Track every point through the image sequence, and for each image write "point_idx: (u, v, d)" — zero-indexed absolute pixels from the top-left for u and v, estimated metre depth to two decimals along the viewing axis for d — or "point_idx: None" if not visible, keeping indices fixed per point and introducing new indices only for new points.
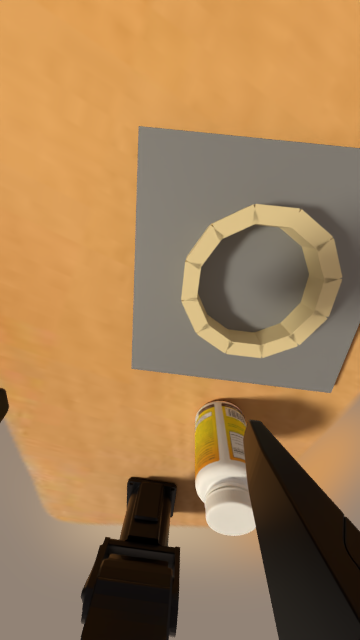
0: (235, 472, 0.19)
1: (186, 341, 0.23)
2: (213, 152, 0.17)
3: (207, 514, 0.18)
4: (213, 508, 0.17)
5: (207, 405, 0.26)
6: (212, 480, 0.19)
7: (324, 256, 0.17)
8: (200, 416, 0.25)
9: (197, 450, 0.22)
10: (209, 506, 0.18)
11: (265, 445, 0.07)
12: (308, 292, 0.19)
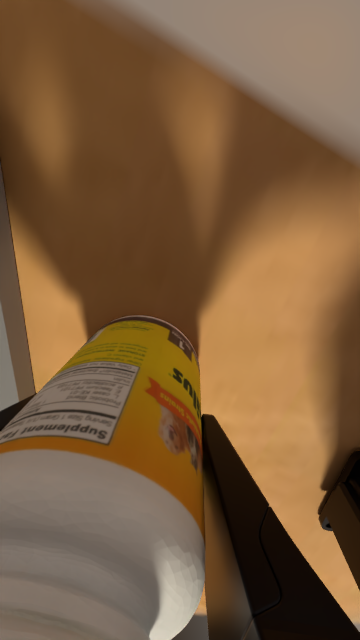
0: None
1: None
2: None
3: None
4: None
5: None
6: None
7: None
8: None
9: None
10: None
11: (210, 438, 0.07)
12: None
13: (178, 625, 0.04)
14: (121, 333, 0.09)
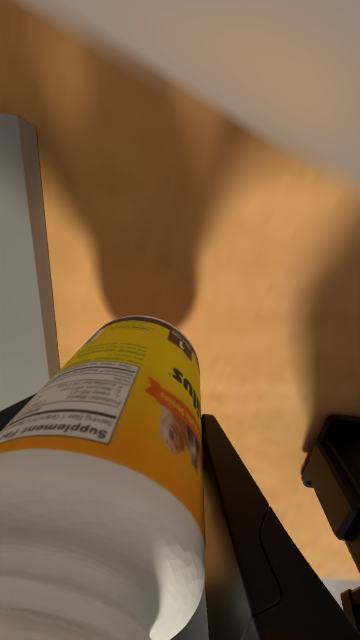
0: None
1: None
2: None
3: None
4: None
5: None
6: None
7: None
8: None
9: None
10: None
11: (210, 438, 0.07)
12: None
13: (178, 624, 0.04)
14: (121, 332, 0.09)
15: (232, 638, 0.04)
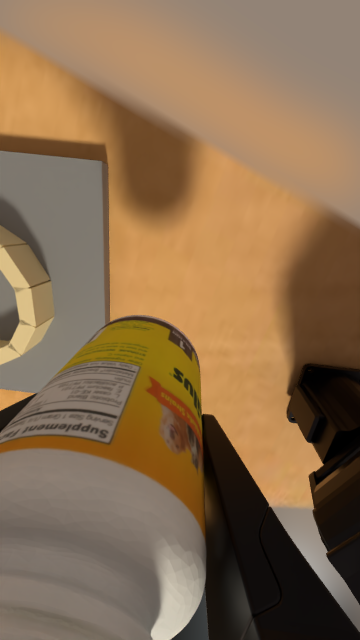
0: None
1: (64, 350, 0.21)
2: None
3: None
4: None
5: None
6: None
7: None
8: None
9: None
10: None
11: (210, 438, 0.07)
12: None
13: (179, 624, 0.04)
14: (122, 332, 0.09)
15: (232, 638, 0.04)
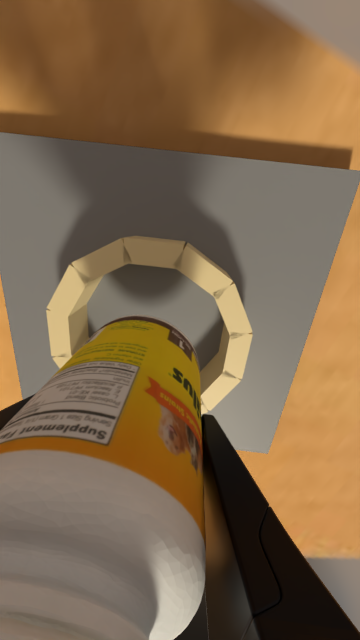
0: None
1: (233, 397, 0.18)
2: (32, 369, 0.18)
3: None
4: None
5: None
6: None
7: (95, 270, 0.12)
8: None
9: None
10: None
11: (210, 438, 0.07)
12: None
13: (178, 627, 0.04)
14: (121, 332, 0.09)
15: (232, 638, 0.04)
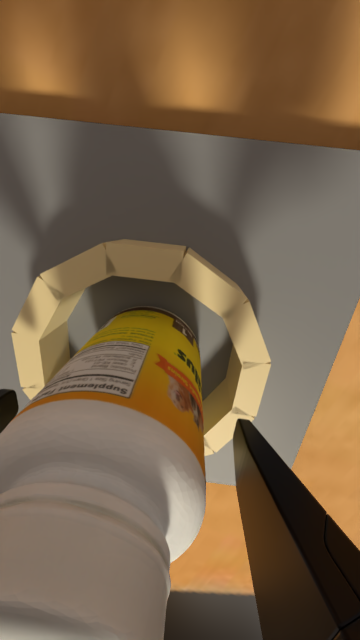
0: None
1: None
2: None
3: None
4: None
5: None
6: None
7: (70, 284, 0.09)
8: None
9: None
10: None
11: (252, 443, 0.07)
12: None
13: (184, 540, 0.05)
14: (131, 320, 0.10)
15: None
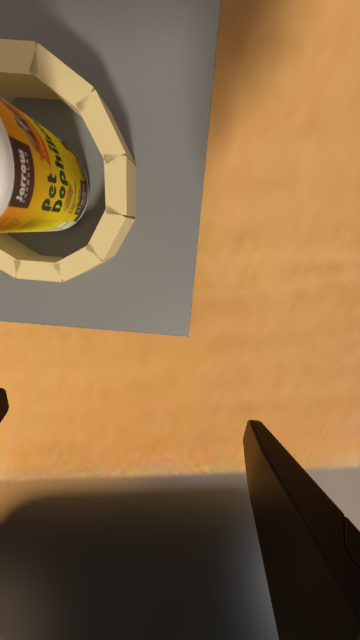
0: None
1: (142, 268, 0.17)
2: None
3: None
4: None
5: None
6: None
7: None
8: None
9: None
10: None
11: (265, 445, 0.07)
12: (32, 91, 0.13)
13: None
14: None
15: None
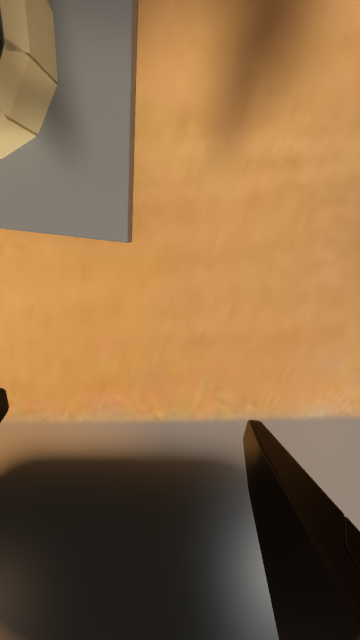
0: None
1: (70, 151, 0.15)
2: None
3: None
4: None
5: None
6: None
7: None
8: None
9: None
10: None
11: (265, 445, 0.07)
12: None
13: None
14: None
15: None
